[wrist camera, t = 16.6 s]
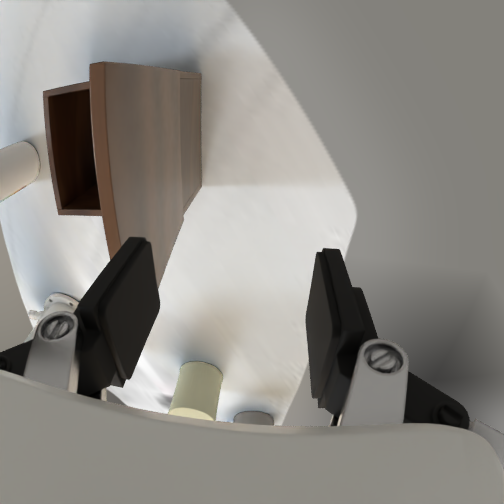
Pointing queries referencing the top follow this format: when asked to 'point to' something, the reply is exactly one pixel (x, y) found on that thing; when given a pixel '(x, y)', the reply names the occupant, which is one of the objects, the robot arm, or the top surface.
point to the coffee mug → (254, 418)
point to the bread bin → (82, 153)
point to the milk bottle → (17, 168)
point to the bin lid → (138, 155)
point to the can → (197, 391)
